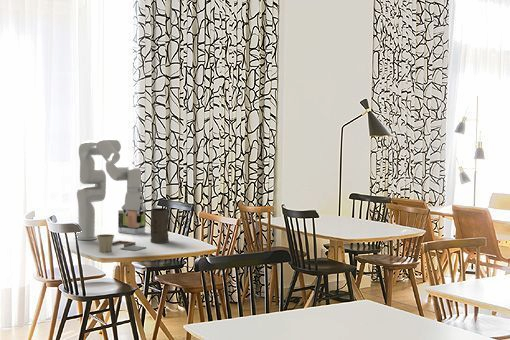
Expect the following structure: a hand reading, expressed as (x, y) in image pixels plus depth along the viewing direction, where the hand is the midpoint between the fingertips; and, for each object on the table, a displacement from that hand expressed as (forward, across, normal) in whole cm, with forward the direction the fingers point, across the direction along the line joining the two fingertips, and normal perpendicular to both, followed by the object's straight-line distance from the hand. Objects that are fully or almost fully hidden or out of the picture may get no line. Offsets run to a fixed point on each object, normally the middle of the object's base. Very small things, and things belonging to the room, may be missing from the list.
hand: (133, 221), depth 355 cm
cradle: (+15, +12, -6) cm, 20 cm away
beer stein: (+15, 0, -28) cm, 32 cm away
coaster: (+15, 0, 0) cm, 15 cm away
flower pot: (+15, +9, +14) cm, 22 cm away
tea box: (+15, +35, -48) cm, 61 cm away
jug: (+3, 0, +2) cm, 3 cm away
